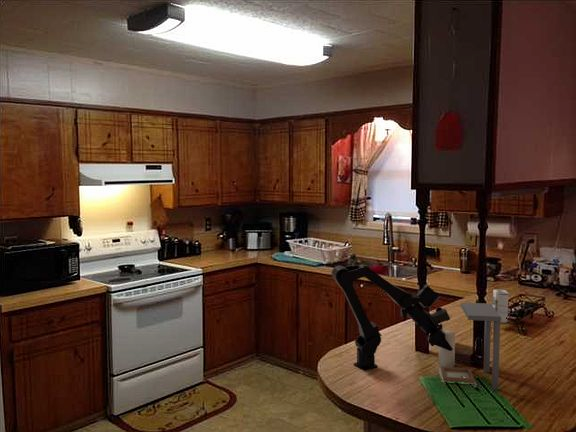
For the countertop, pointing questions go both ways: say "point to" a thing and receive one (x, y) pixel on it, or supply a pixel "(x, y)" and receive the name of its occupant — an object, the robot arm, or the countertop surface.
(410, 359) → the countertop surface
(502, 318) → the syrup box
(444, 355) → the ceramic jar
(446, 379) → the shelf
